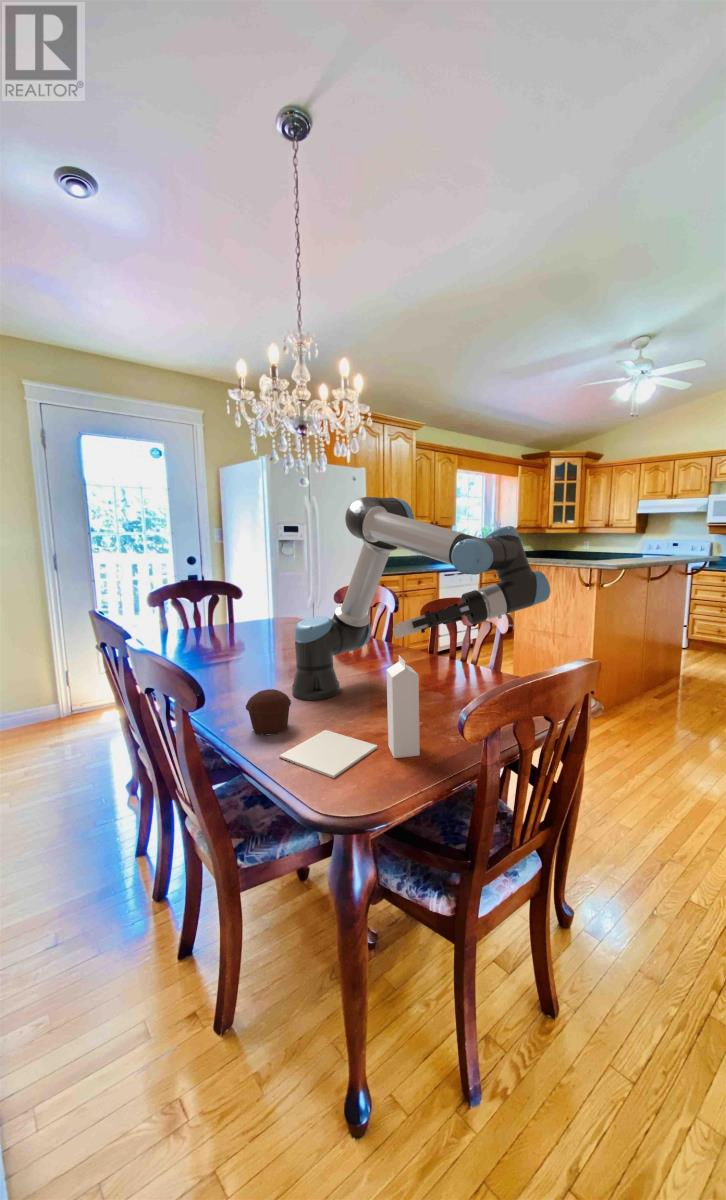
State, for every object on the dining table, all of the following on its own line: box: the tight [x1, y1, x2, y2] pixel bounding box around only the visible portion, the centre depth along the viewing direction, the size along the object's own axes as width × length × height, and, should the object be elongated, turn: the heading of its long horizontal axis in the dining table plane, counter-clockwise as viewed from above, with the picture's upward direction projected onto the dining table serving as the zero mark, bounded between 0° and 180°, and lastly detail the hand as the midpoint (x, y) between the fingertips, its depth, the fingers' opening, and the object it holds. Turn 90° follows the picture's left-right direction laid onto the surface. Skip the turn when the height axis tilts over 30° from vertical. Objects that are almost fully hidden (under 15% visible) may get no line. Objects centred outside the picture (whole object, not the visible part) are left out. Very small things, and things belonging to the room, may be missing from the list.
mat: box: [278, 729, 378, 779], centre depth 106 cm, size 16×16×1 cm
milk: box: [386, 655, 421, 759], centre depth 104 cm, size 6×6×22 cm
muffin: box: [245, 688, 292, 736], centre depth 120 cm, size 12×11×10 cm
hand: (395, 631), depth 107 cm, fingers open, 13 cm apart
